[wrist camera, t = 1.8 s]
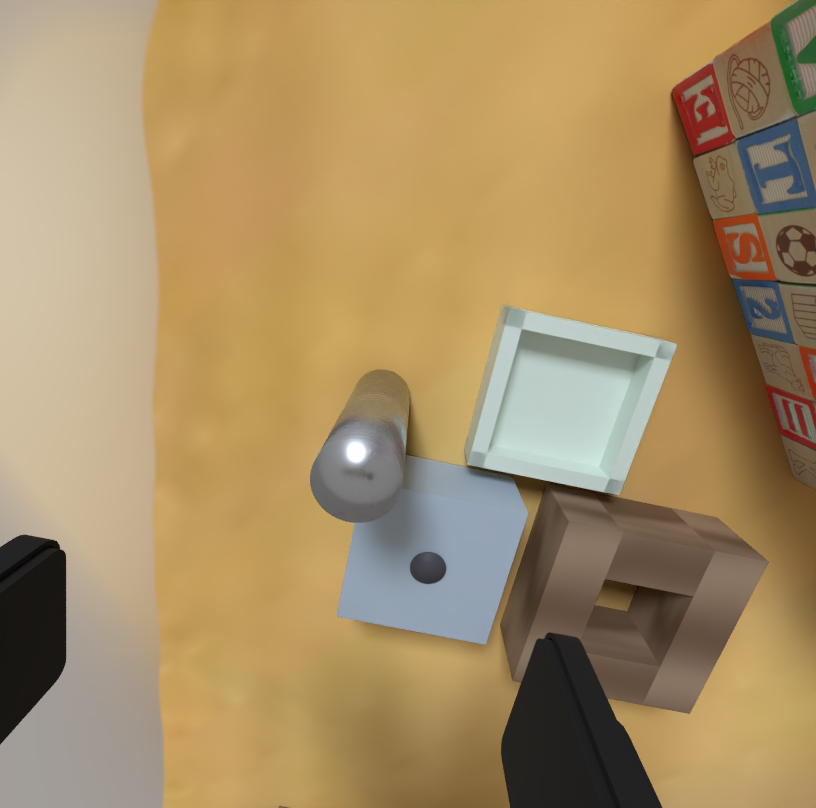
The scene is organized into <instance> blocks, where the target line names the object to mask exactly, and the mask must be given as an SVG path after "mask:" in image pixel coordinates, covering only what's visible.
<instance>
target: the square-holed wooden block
mask: <svg viewBox="0 0 816 808" xmlns="http://www.w3.org/2000/svg"><path fill="white" fill-rule="evenodd" d="M768 562H769V561H767V560H766V559H765V558H764V557H763V556H762V555H760V554H759V553H758V552H757V551H756V550H754V549H753V548H752V547H751V546H750V545H749V544H747V543H746V542H745V541H744V540H743V539H742V538H740V537H739V536H738V535H737V534H736V533H734V532H733V531H732V530H731V529H730V528H729V527H727V526H726V525H725V524H724V523H723V522H722V521H720V520H719V519H718V518H716V517H711V516H706V515H701V514H696V513H691V512H686V511H681V510H676V509H671V508H666V507H661V506H656V505H652V504H647V503H642V502H637V501H632V500H627V499H622V498H617V497H612V496H607V495H602V494H597V493H592V492H587V491H582V490H577V489H572V488H568V487H563V486H558V485H553V484H548V483H547V484H546V487H545V490H544V493H543V496H542V499H541V502H540V505H539V508H538V511H537V514H536V518H535V521H534V524H533V527H532V530H531V533H530V536H529V539H528V542H527V545H526V548H525V551H524V554H523V557H522V560H521V563H520V566H519V569H518V572H517V575H516V578H515V581H514V584H513V587H512V590H511V593H510V597H509V600H508V603H507V606H506V609H505V612H504V615H503V618H502V621H501V624H500V626H501V630H502V635H503V639H504V644H505V648H506V653H507V658H508V662H509V667H510V671H511V676H512V680H513V681H518V682H522V679H523V677H524V674H525V671H526V668H527V665H528V662H529V659H530V656H531V654H532V651H533V648H534V645H535V642H536V640H537V639H538V638H541V639H544V638H545V636H546V634H547V633H548V632H552V633H558V634H563V635H568V636H574V637H577V638H579V639H580V641H581V642H582V644H583V646H584V649H585V651H586V653H587V655H588V658H589V660H590V662H591V664H592V666H593V669H594V671H595V673H596V675H597V677H598V680H599V682H600V684H601V686H602V688H603V691H604V693H605V695H606V697H607V698H608V699H614V700H619V701H624V702H630V703H635V704H640V705H646V706H651V707H656V708H662V709H667V710H672V711H678V712H683V713H688V714H690V712H691V710H692V708H693V706H694V705H695V703H696V701H697V699H698V697H699V695H700V693H701V691H702V689H703V687H704V685H705V683H706V681H707V680H708V678H709V676H710V674H711V672H712V670H713V668H714V666H715V664H716V662H717V660H718V658H719V656H720V655H721V653H722V651H723V649H724V647H725V645H726V643H727V641H728V639H729V637H730V635H731V633H732V631H733V630H734V628H735V626H736V624H737V622H738V620H739V618H740V616H741V614H742V612H743V610H744V608H745V606H746V605H747V603H748V601H749V599H750V597H751V595H752V593H753V591H754V589H755V587H756V585H757V583H758V581H759V580H760V578H761V576H762V574H763V572H764V570H765V568H766V566H767V564H768ZM605 579H607V580H613V581H618V582H623V583H628V584H633V585H638V588H637V591H636V593H635V595H634V598H633V600H632V602H631V605H630V607H629V609H628V612H626V611H621V610H615V609H610V608H605V607H600V606H595V603H596V600H597V598H598V595H599V593H600V590H601V588H602V585H603V583H604V580H605Z"/></svg>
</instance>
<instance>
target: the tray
mask: <svg viewBox="0 0 816 808" xmlns="http://www.w3.org/2000/svg"><path fill="white" fill-rule="evenodd" d="M676 346H677V344H675V343H672V342H669V341H665V340H662V339H659V338H655V337H651V336H646V335H641V334H637V333H632V332H627V331H623V330H618V329H613V328H609V327H604V326H599V325H595V324H590V323H585V322H581V321H576V320H571V319H567V318H562V317H557V316H553V315H548V314H543V313H539V312H534V311H529V310H525V309H520V308H515V307H511V306H506V305H502V308H501V312H500V315H499V319H498V323H497V327H496V331H495V334H494V338H493V342H492V346H491V350H490V353H489V357H488V361H487V365H486V369H485V372H484V376H483V380H482V384H481V388H480V391H479V395H478V399H477V403H476V407H475V410H474V414H473V418H472V422H471V426H470V429H469V433H468V437H467V441H466V445H465V448H464V451H465V455H466V459H467V464H468V465H472V466H477V467H482V468H487V469H491V470H496V471H501V472H506V473H511V474H516V475H521V476H526V477H531V478H536V479H541V480H546V481H551V482H556V483H561V484H566V485H570V486H575V487H580V488H585V489H590V490H595V491H600V492H605V493H610V494H615V495H619V494H620V492H621V489H622V487H623V484H624V481H625V479H626V476H627V474H628V471H629V468H630V466H631V463H632V461H633V458H634V455H635V453H636V450H637V448H638V445H639V442H640V440H641V437H642V435H643V432H644V429H645V427H646V424H647V422H648V419H649V416H650V414H651V411H652V409H653V406H654V404H655V401H656V398H657V396H658V393H659V391H660V388H661V385H662V383H663V380H664V378H665V375H666V372H667V370H668V367H669V365H670V362H671V359H672V357H673V354H674V352H675V349H676Z"/></svg>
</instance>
